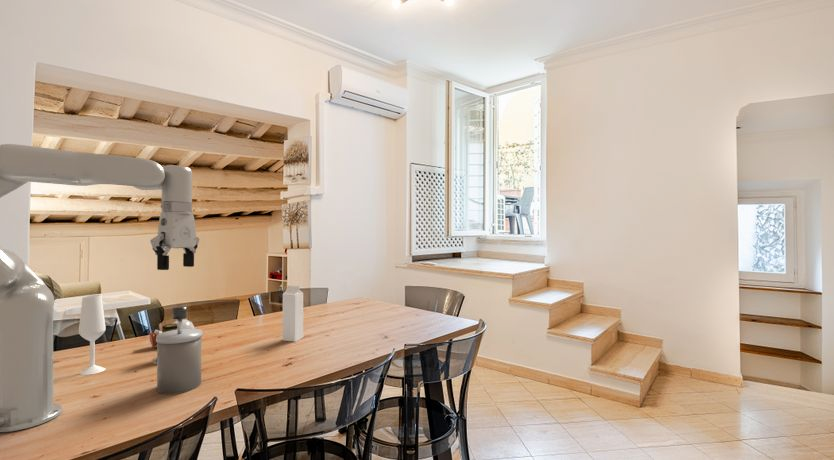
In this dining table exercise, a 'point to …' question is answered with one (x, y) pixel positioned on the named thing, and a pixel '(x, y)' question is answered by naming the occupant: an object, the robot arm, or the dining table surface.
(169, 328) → the condiment
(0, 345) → the robot arm
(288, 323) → the milk
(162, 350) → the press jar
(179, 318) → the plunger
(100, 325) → the champagne flute
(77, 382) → the dining table surface
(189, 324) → the potion bottle
